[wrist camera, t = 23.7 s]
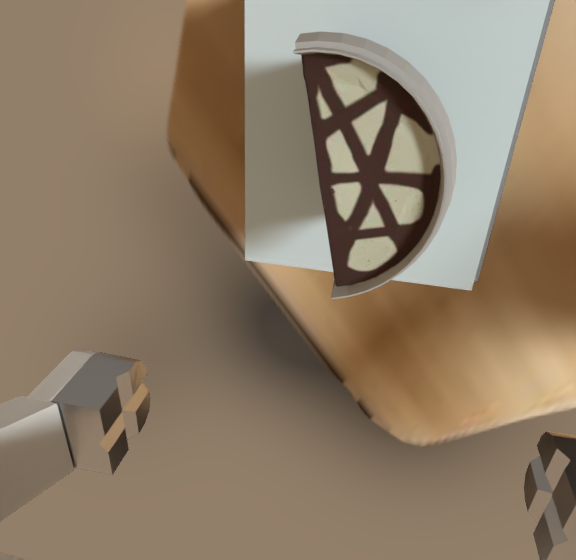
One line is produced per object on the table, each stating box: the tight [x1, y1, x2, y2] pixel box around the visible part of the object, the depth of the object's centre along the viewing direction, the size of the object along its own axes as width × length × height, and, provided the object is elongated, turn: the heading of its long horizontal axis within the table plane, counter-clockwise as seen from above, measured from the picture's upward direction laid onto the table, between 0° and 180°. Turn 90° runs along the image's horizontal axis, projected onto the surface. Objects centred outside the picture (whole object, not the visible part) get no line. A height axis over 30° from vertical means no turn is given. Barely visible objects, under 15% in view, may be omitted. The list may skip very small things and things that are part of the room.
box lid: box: [245, 0, 550, 291], centre depth 30 cm, size 16×18×1 cm
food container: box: [293, 31, 457, 299], centre depth 25 cm, size 12×6×10 cm, turn 10°
